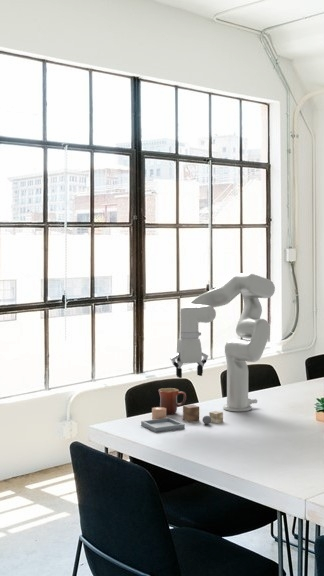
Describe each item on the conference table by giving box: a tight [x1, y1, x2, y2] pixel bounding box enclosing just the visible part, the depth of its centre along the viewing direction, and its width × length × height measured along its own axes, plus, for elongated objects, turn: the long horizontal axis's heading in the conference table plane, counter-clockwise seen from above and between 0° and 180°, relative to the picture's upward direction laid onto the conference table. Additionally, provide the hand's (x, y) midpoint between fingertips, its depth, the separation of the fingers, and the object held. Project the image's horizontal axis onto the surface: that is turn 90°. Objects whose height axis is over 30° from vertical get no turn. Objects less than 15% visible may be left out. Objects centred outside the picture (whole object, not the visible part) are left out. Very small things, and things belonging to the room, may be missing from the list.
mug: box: [158, 387, 187, 416], centre depth 314 cm, size 12×9×10 cm
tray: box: [140, 417, 185, 433], centre depth 290 cm, size 13×13×2 cm
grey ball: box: [202, 415, 212, 426], centre depth 294 cm, size 4×4×4 cm
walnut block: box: [182, 404, 200, 423], centre depth 301 cm, size 5×5×6 cm
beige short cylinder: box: [151, 406, 167, 420], centre depth 301 cm, size 6×6×5 cm
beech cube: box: [208, 410, 224, 424], centre depth 299 cm, size 4×4×4 cm
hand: (189, 376), depth 301 cm, fingers open, 9 cm apart
